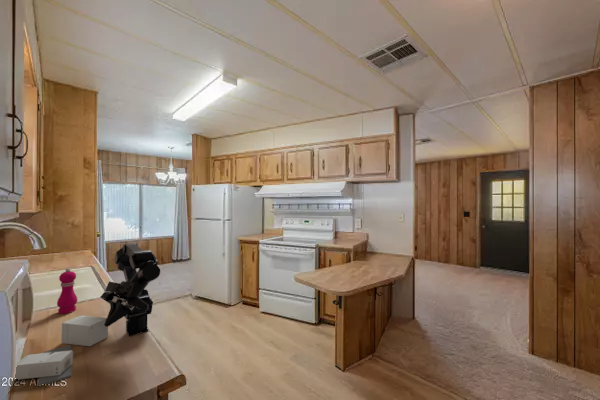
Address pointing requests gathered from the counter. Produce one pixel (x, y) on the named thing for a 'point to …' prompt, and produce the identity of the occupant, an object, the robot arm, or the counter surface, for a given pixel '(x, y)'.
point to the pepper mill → (67, 293)
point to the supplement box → (84, 330)
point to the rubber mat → (59, 377)
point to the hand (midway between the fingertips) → (105, 326)
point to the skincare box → (43, 364)
